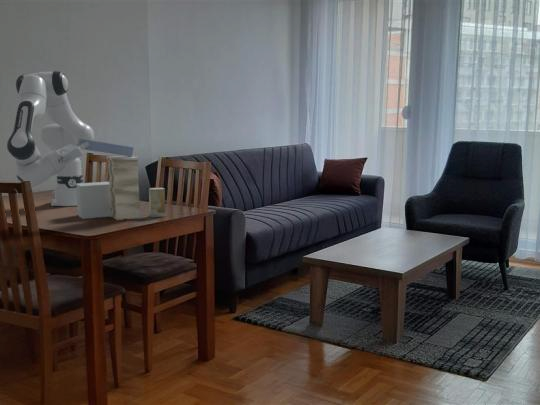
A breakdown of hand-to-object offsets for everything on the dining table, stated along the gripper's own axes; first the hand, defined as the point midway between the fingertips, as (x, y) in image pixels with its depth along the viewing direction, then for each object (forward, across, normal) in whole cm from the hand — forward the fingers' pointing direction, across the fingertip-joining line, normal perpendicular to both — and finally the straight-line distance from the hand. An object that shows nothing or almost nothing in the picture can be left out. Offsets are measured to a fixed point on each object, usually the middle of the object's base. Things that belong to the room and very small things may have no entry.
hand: (86, 142), depth 255 cm
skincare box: (+8, -4, +42) cm, 43 cm away
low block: (-12, +11, +30) cm, 35 cm away
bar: (+4, 0, +7) cm, 8 cm away
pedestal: (-4, 0, +36) cm, 36 cm away
